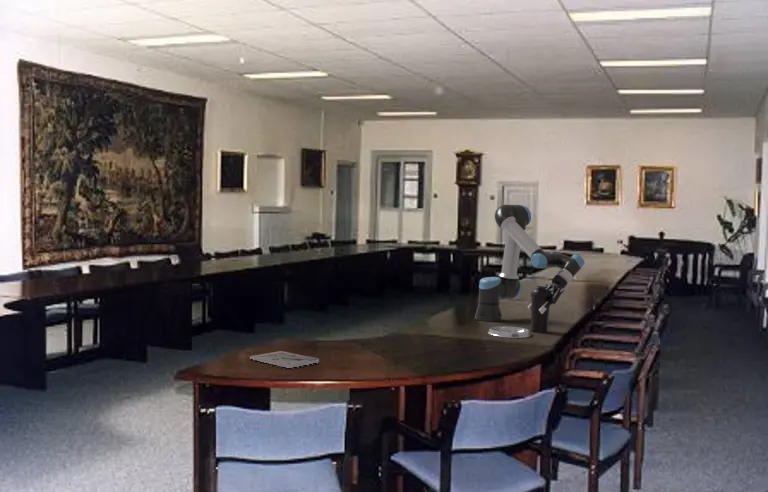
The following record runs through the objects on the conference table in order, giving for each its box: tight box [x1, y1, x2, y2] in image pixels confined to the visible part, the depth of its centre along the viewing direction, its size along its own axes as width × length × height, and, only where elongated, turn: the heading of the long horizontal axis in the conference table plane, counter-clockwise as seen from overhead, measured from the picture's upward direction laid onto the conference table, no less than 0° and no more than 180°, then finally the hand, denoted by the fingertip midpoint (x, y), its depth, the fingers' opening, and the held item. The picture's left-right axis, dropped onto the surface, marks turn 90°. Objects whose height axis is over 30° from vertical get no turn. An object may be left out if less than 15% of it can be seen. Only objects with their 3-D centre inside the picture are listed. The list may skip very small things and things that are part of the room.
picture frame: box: [249, 350, 320, 369], centre depth 310 cm, size 16×2×22 cm
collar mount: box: [487, 325, 531, 339], centre depth 393 cm, size 21×21×2 cm
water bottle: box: [530, 285, 551, 334], centre depth 404 cm, size 10×10×23 cm
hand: (534, 310), depth 403 cm, fingers closed on water bottle, 9 cm apart
